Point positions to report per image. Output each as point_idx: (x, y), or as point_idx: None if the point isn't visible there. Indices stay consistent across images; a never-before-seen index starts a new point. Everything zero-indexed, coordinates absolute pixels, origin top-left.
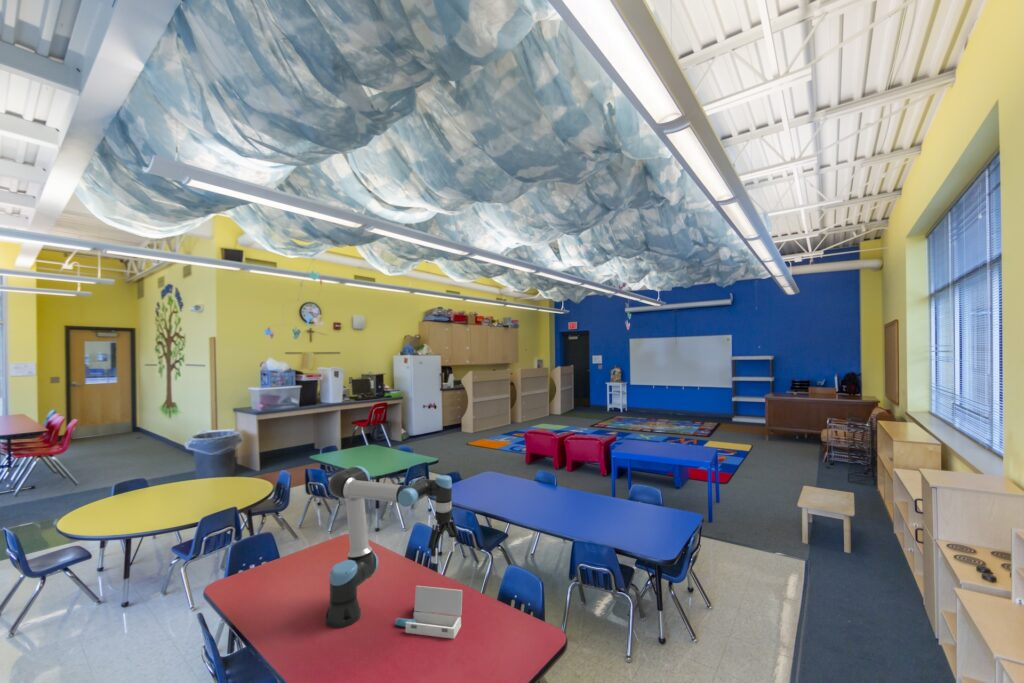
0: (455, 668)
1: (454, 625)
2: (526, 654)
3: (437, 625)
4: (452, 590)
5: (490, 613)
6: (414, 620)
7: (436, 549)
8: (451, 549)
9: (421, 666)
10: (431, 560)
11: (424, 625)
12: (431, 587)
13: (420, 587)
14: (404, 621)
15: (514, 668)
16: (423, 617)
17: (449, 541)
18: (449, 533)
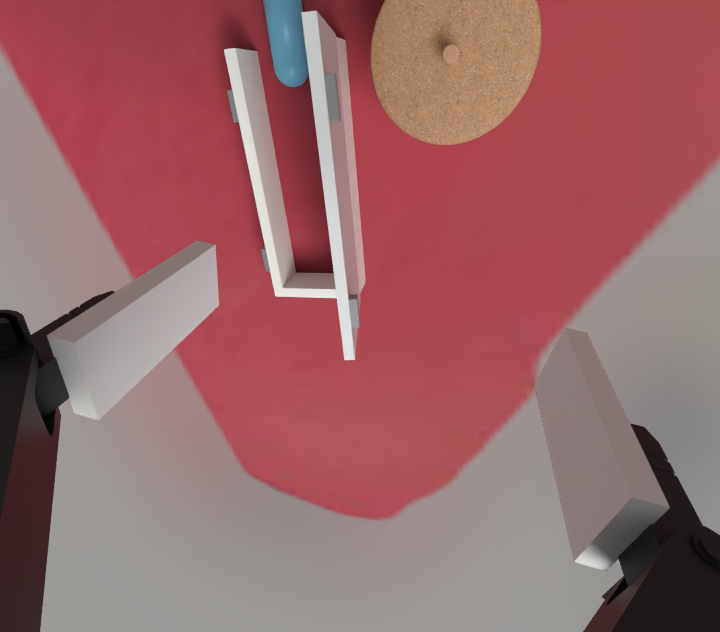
0: None
1: (294, 291)
2: (300, 464)
3: (269, 225)
4: (338, 309)
5: (474, 362)
6: (287, 73)
7: (84, 406)
8: (551, 382)
9: (135, 228)
10: (182, 251)
11: (248, 165)
12: (324, 165)
13: (308, 65)
14: (267, 11)
15: (246, 444)
16: None
17: (594, 438)
18: (605, 621)
